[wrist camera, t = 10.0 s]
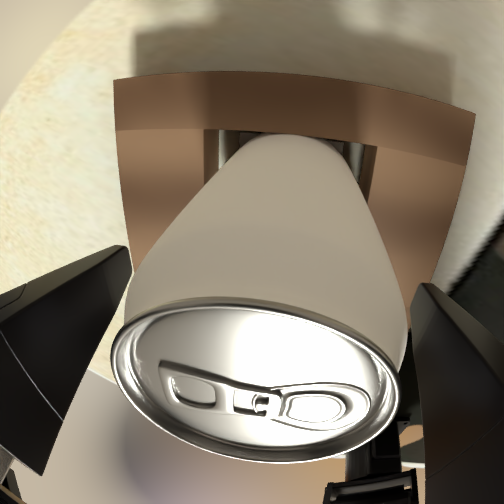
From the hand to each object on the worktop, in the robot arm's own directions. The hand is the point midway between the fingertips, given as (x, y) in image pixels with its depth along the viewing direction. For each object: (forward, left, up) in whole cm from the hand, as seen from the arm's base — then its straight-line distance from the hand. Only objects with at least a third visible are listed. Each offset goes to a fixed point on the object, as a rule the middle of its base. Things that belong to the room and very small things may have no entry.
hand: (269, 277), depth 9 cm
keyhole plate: (-5, 0, -8) cm, 10 cm away
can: (0, 0, -8) cm, 8 cm away
